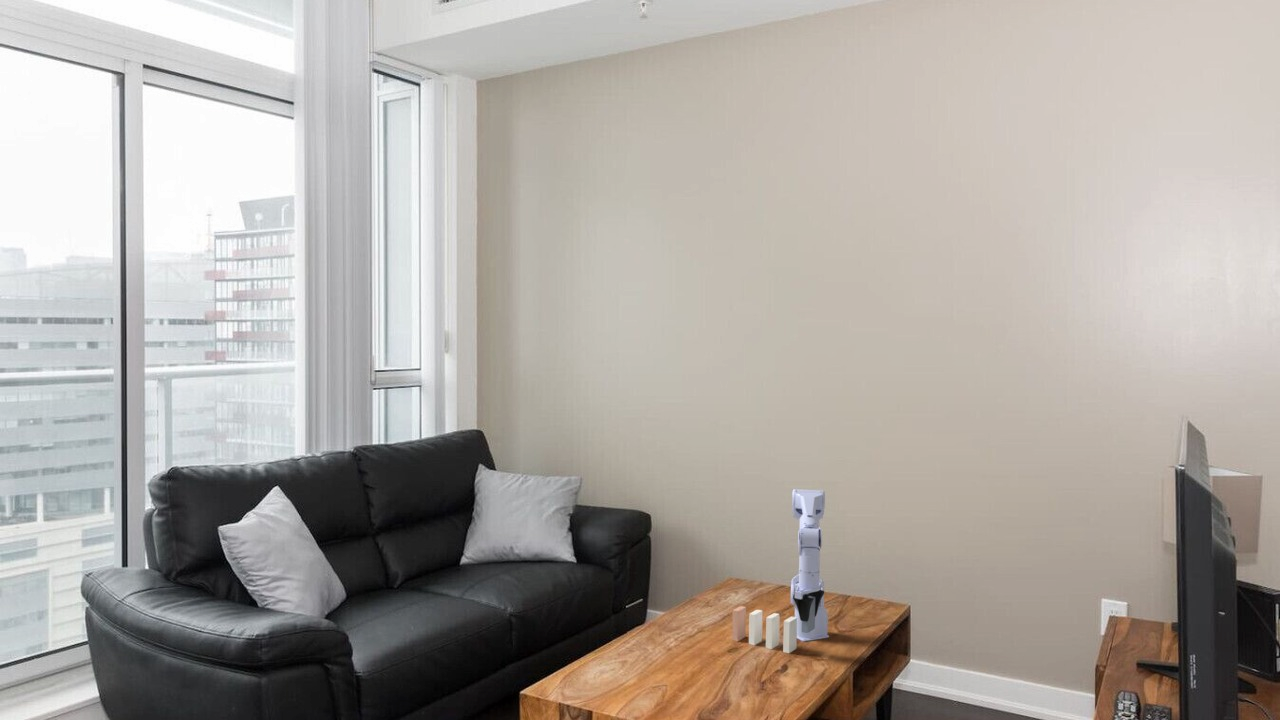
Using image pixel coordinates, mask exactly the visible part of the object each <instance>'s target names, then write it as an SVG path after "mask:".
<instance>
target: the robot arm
mask: <svg viewBox="0 0 1280 720" xmlns="http://www.w3.org/2000/svg"><path fill="white" fill-rule="evenodd" d="M791 493H792V495H791V496H792V501H791V502H792V503H791V507H792V514H793V518H795V519H796V520H798V522H799V530H798V531H797V533H798V534H797V537H798V538H797V546H798V555H799V557H798V563H799V564H798V574H796V575H795V576H794V577H792V579H791V585H790V604H791V605H792V606H794V617H796V618H797V640H799V641H801V642H810V641H815V640H822V639H827V638H829V637H830V636H829V634H828V623H829V622H828V621H829V617H828V611H827V609H826V607H825V606H824V605H825V587H824V583H825V582H824V579H822V578H821V577H820V568H821V567H820V566H821V565H820V563H821V549H822V545H823V532H822V528H821V527H820V524H821V523H820V520H822V519H823V517H824V516H825V506H826V492H825V490H824V489H801V488H793V490H792V492H791ZM809 596H812V597H815V629H813V630H812V631H810V632H809V633H804V632H802V621H806V622H807V621H808V620H809V614H810V608H811V604H812V602H813V600H814V598H809Z"/></svg>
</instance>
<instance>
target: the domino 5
mask: <svg viewBox="0 0 1280 720" xmlns="http://www.w3.org/2000/svg"><path fill="white" fill-rule="evenodd" d="M809 598H814V600H813V602H812V604H811V608H810V614H809V620H808V621H807V622H806V621H802V632H804V633H809V632H810V631H812V630H813V629H815V597H812V596H809Z"/></svg>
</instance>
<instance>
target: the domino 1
mask: <svg viewBox="0 0 1280 720" xmlns="http://www.w3.org/2000/svg"><path fill="white" fill-rule="evenodd" d="M731 618H732V622H731V623H732V626H731V630H732V631H731V641H733V642H737V643H738V642H740V641H741V640H743V639H744V638H746V629H747V628H746V626H747V607H746V606H743V605H740V606H738V607H736V608H734V609H732V617H731Z"/></svg>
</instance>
